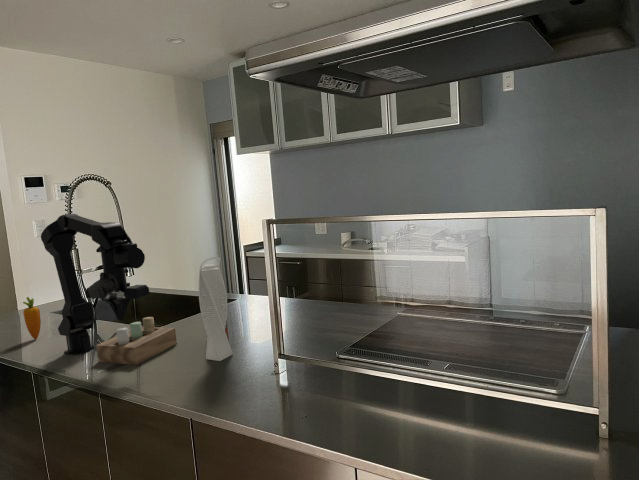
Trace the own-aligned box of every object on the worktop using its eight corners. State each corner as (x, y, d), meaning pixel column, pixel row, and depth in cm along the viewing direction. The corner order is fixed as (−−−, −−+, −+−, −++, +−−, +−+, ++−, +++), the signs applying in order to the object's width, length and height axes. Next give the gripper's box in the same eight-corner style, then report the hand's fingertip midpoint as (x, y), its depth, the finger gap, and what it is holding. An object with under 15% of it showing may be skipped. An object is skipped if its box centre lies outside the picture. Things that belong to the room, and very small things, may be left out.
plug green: (130, 344, 151) (127, 324, 150) (137, 340, 154) (135, 321, 153) (138, 344, 150) (135, 325, 149) (145, 341, 153) (143, 322, 152)
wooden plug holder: (98, 361, 147) (96, 345, 146) (141, 341, 163) (139, 326, 162) (136, 364, 141) (134, 347, 141) (176, 343, 158) (175, 328, 157)
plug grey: (116, 350, 146) (113, 330, 145) (124, 347, 149) (121, 327, 148) (125, 351, 145) (122, 331, 144) (133, 347, 148) (130, 327, 147)
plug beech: (142, 338, 156) (140, 319, 155) (149, 335, 159) (147, 316, 158) (151, 338, 155) (148, 320, 154) (157, 335, 158) (155, 317, 157)
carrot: (42, 339, 174) (36, 297, 172) (26, 342, 172) (19, 299, 171) (44, 336, 179) (38, 294, 177) (28, 338, 177) (22, 297, 175)
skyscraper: (219, 350, 148) (209, 256, 144) (239, 353, 144) (229, 256, 140) (200, 359, 141) (189, 261, 138) (220, 363, 137) (209, 262, 134)
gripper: (66, 273, 140) (74, 327, 142) (118, 273, 133) (125, 330, 135) (97, 265, 150) (104, 316, 152) (147, 265, 143) (153, 318, 145)
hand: (120, 320), depth 146 cm, fingers closed
